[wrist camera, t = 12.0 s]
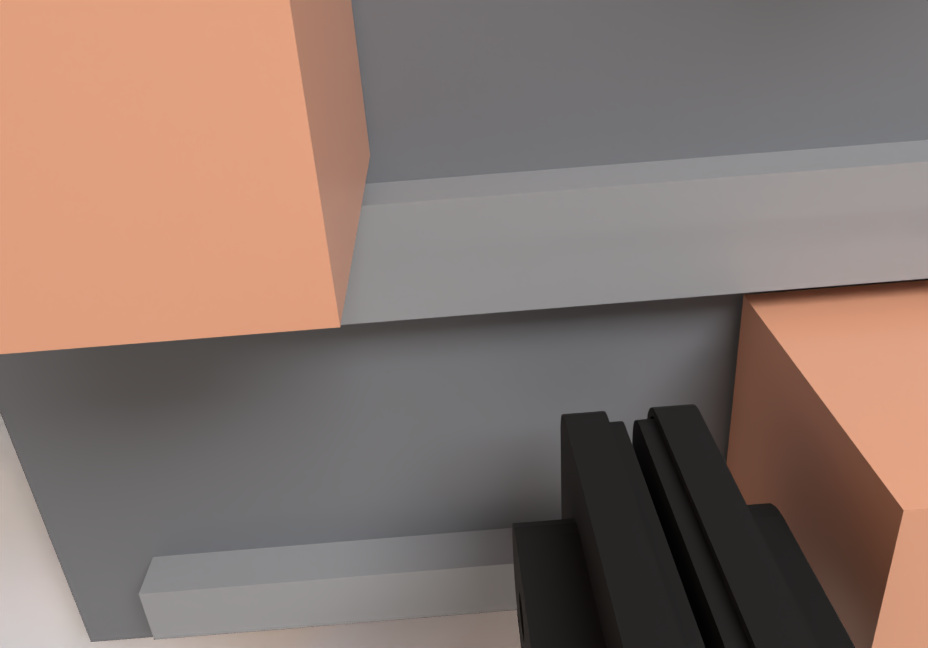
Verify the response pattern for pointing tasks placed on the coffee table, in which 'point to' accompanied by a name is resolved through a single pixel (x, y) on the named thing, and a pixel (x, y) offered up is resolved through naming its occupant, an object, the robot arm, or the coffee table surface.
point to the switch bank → (485, 304)
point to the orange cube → (842, 444)
